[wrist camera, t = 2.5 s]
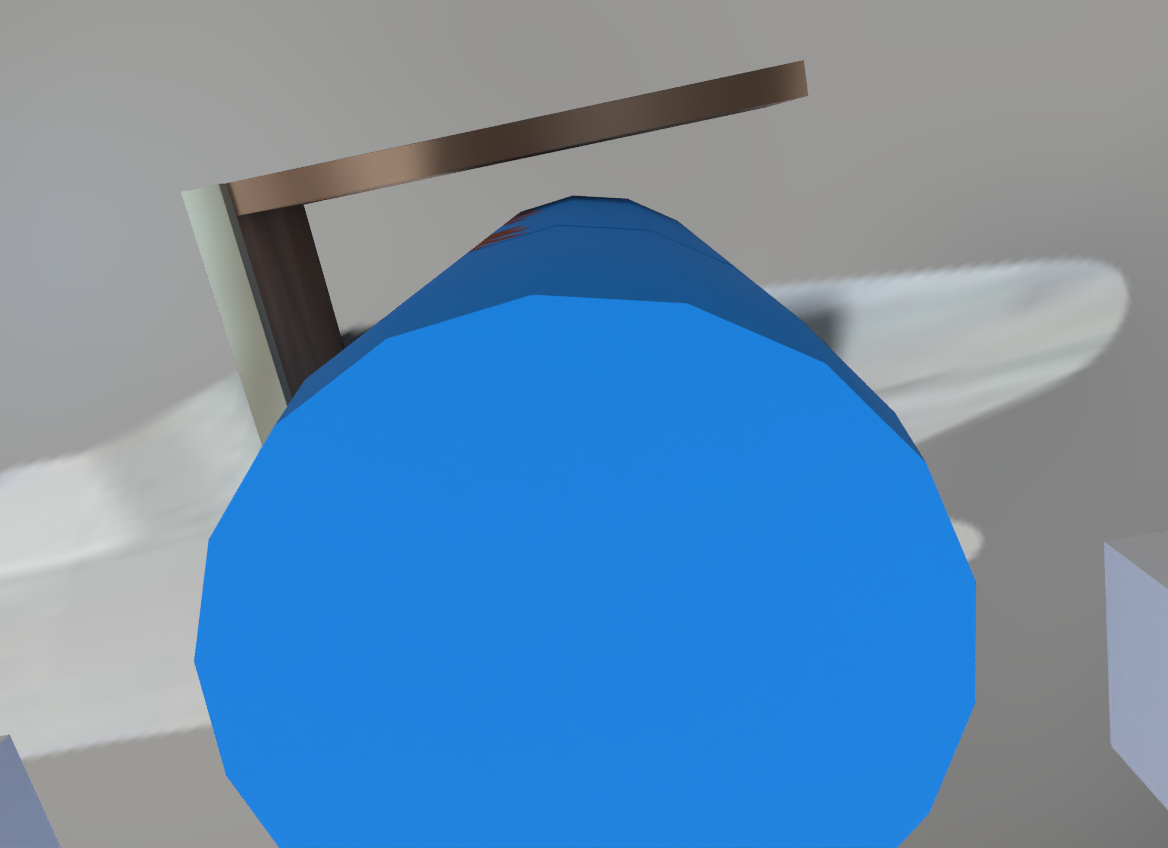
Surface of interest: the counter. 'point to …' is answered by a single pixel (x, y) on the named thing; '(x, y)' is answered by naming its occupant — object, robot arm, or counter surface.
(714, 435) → the thermos
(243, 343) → the wooden frame
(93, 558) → the counter surface
